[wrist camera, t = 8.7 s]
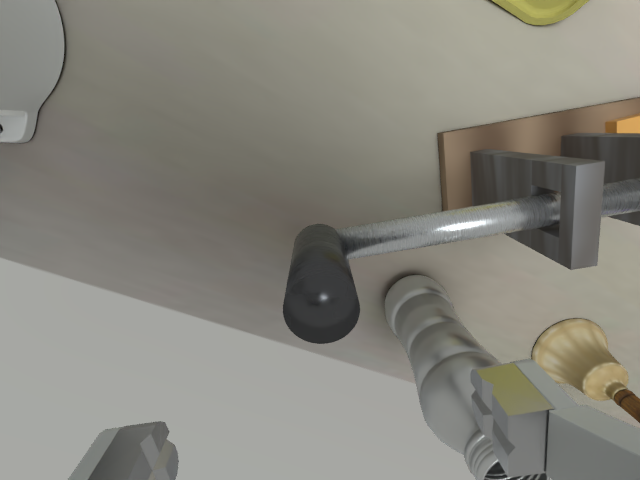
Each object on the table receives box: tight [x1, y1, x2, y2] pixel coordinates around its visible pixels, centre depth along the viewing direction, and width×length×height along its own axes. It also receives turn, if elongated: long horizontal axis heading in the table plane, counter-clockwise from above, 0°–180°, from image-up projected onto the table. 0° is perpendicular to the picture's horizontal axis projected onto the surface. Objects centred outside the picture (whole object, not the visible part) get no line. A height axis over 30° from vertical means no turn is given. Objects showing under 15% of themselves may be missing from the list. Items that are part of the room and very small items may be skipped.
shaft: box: [283, 178, 640, 344], centre depth 18 cm, size 23×3×9 cm, turn 100°
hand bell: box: [532, 318, 640, 423], centre depth 31 cm, size 8×8×16 cm
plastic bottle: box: [385, 275, 550, 480], centre depth 27 cm, size 6×7×20 cm
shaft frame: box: [438, 97, 640, 270], centre depth 26 cm, size 19×10×14 cm, turn 100°
